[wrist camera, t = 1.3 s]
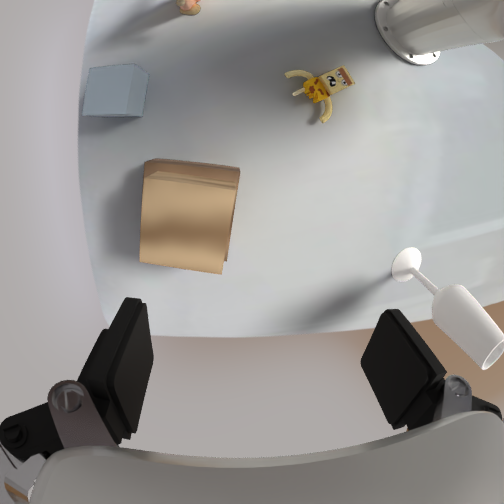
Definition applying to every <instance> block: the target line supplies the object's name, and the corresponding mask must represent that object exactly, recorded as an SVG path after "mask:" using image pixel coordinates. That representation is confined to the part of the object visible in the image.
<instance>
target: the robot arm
mask: <svg viewBox="0 0 504 504" xmlns="http://www.w3.org/2000/svg"><path fill="white" fill-rule="evenodd" d="M375 21H376V25H377V28H378V30H379V32H380V34H381V36H382V37H383V39H384V40H385V42H386V43H387V44H388V45H389V47H390V48H391V49H392V50H393V51H394V52H395V53H396V54H398V55H399V56H400V57H402V58H403V59H405V60H406V61H408V62H410V63H413V64H416V65H428V64H431V63H433V62H435V61H436V60H437V59H438V57H439V55H440V52H441V51H445V50H450V49H454V48H459V47H465V46H470V45H476V44H482V43H489V42H496V41H501V40H504V0H382V1H381V2H379V4H378V5H377V6H376V9H375ZM152 365H153V349H152V343H151V336H150V329H149V321H148V313H147V306H146V303H142V301H141V299H138V298H129V297H126V298H125V299H124V301H123V303H122V305H121V307H120V308H119V310H118V312H117V314H116V316H115V318H114V320H113V322H112V324H111V325H110V327H109V329H104V330H102V332H101V333H100V335H99V337H98V339H97V341H96V343H95V345H94V347H93V349H92V351H91V353H90V355H89V357H88V359H87V361H86V363H85V365H84V367H83V369H82V371H81V374H80V376H79V378H78V380H77V381H74V380H64V381H60V382H58V383H56V384H55V385H54V386H53V387H52V388H51V389H50V391H49V393H48V398H47V400H48V402H47V403H45V404H42V405H39V406H37V407H34V408H31V409H29V410H26V411H24V412H21V413H18V414H16V415H13V416H10V417H8V418H6V419H5V420H4V421H3V422H2V423H1V425H0V504H504V418H503V419H502V415H501V412H500V409H499V408H498V407H497V406H495V405H493V404H491V403H489V402H486V401H484V400H482V399H479V398H477V397H474V396H472V391H471V387H470V385H469V383H468V382H467V381H466V380H465V379H464V378H463V377H461V376H458V375H450V376H448V377H447V378H446V380H444V378H443V377H444V376H445V374H446V373H447V371H446V370H445V368H444V367H443V366H442V364H441V363H440V362H439V360H438V359H437V358H436V356H435V355H434V353H433V352H432V351H431V349H430V348H429V347H428V345H427V344H426V343H425V341H424V340H423V339H422V338H421V336H420V335H419V334H418V332H416V330H415V329H414V327H413V326H412V325H411V323H410V322H409V321H408V320H407V319H406V317H405V316H404V315H403V314H402V312H401V311H400V310H399V309H387V310H385V311H384V313H382V314H381V316H380V318H379V321H378V323H377V325H376V328H375V330H374V332H373V334H372V337H371V339H370V341H369V343H368V345H367V347H366V350H365V352H364V354H363V356H362V358H361V367H362V369H363V371H364V373H365V375H366V377H367V379H368V381H369V383H370V385H371V387H372V389H373V391H374V393H375V395H376V397H377V400H378V402H379V404H380V406H381V408H382V410H383V413H384V415H385V417H386V419H387V421H388V423H389V424H391V425H392V427H393V429H394V430H395V429H398V428H401V427H404V426H405V425H407V427H408V428H407V431H406V432H404V433H401V434H397V435H394V436H391V437H387V438H384V439H380V440H376V441H372V442H368V443H364V444H360V445H355V446H350V447H346V448H341V449H335V450H329V451H323V452H316V453H309V454H301V455H291V456H278V457H263V458H262V457H261V458H216V457H197V456H184V455H174V454H166V453H158V452H151V451H143V450H136V449H129V448H120V447H119V446H118V444H120V443H121V441H122V438H124V439H129V440H130V438H131V433H136V431H137V428H138V423H139V419H140V414H141V410H142V405H143V401H144V397H145V392H146V389H147V385H148V380H149V377H150V373H151V369H152ZM35 479H36V482H34V480H35ZM33 485H34V487H33V490H32V494H31V497H30V502H29V501H28V497H27V496H28V491H29V489H30V488H31V487H32V486H33Z"/></svg>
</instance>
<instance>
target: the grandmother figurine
mask: <svg viewBox="0 0 504 504" xmlns="http://www.w3.org/2000/svg"><path fill="white" fill-rule="evenodd" d="M176 1H177V2H176V4H177V6H180V13H182V14H188V15H195V14H197V13H199V11H200V6H199V5H198V4H196V2H198V1H200V0H176Z"/></svg>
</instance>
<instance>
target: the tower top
mask: <svg viewBox="0 0 504 504" xmlns="http://www.w3.org/2000/svg"><path fill="white" fill-rule="evenodd" d="M235 194H236V182H232V181H226V180H219V179H213V178H206V177H199V176H192V175H184V174H177V173H168V172H160V171H157V172H155V173H153V174H151V175H149V176H147V177H145V178H144V186H143V197H142V211H141V229H140V262H144V263H150V264H156V265H162V266H168V267H175V268H181V269H187V270H194V271H201V272H207V273H214V274H221V275H222V269H223V263H224V257H225V251H226V245H227V239H228V233H229V228H230V222H231V216H232V211H233V205H234V200H235Z"/></svg>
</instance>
